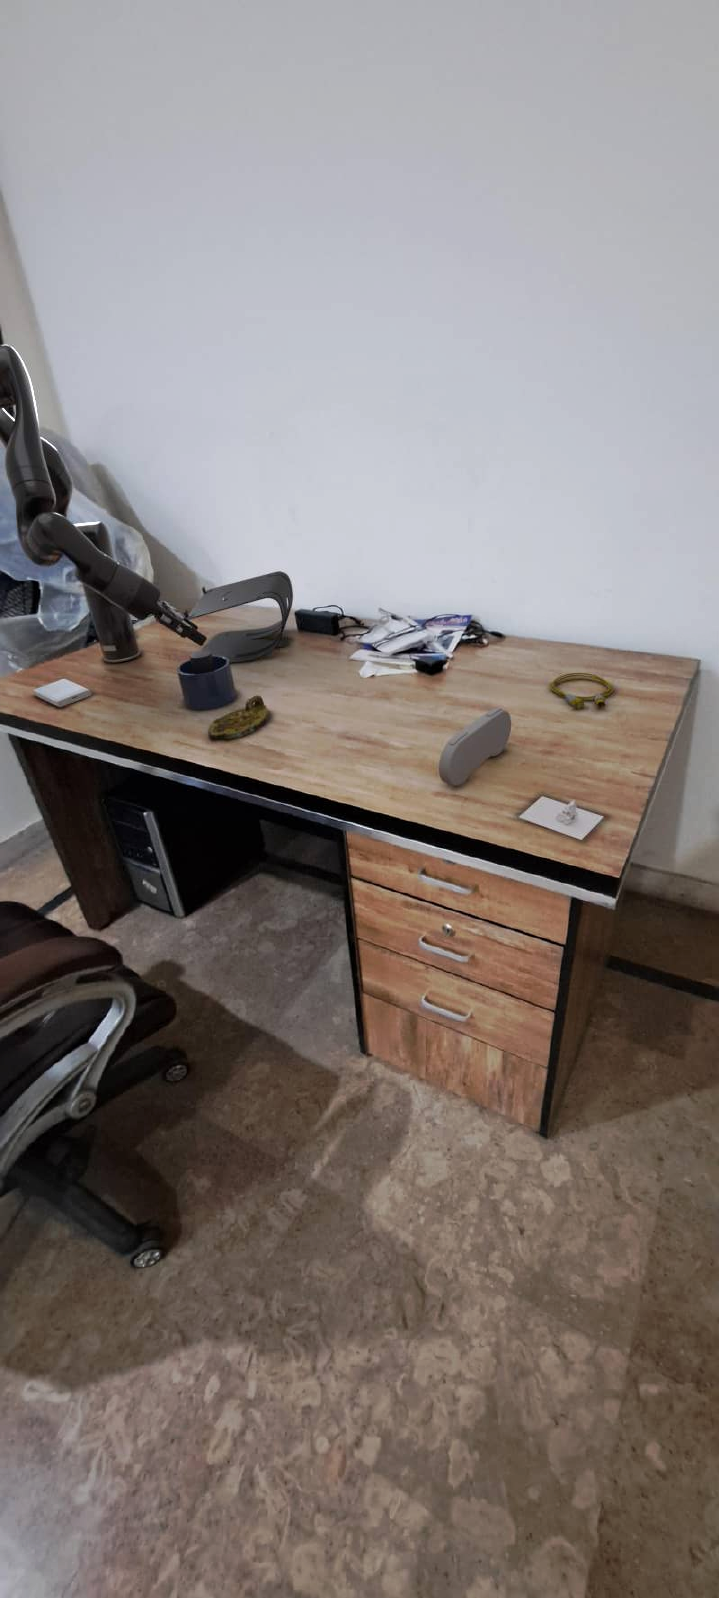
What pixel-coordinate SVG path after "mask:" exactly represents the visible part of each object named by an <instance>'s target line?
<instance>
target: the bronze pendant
mask: <svg viewBox="0 0 719 1598" xmlns="http://www.w3.org/2000/svg"><path fill="white" fill-rule="evenodd" d="M268 720H269V711H268V707H267V705H266V704H265V702H264V700H263V698H262V696H261V695H259V694H258V695H254V696H252V697H250V698H248V699H247V700H246V702H245V707H244V708H240V709H236V710H234V711H231V712H229V713H227V714H225V715H223V716H221V717H219V718H216V719H214V720H213V721H212V724H211V725H210V727H209V729H208V732H207V733H208V738H209V739H210V740H214V739H223V740H233V739H238V738H241V737H245V736H247V735H250V734H252V733H253V732H255V731H256V730H257V729H259V728H260V727H262V726H263V725H264V724H265V723H266V722H267V721H268Z"/></svg>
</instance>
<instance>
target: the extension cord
mask: <svg viewBox="0 0 719 1598" xmlns="http://www.w3.org/2000/svg"><path fill="white" fill-rule="evenodd" d="M575 680H585V681H586V680H587V681H592V682H596V683H599V684H602V685H604V686H606V688H607V690H605V691H603V692H600V693H595V694H594V695H591V696H580V695H579V696H578V695H573V694H571V693H567V694H566V693H565V692H564V691H562V690H560V689H559V688H557V687H556V685H558V684H561V683H564V682H568V681H575ZM550 690H551V691H552V692H553V693H555V695H557V696H559V697H561V698H565V700H566V701H567V702H568V703H569V705H570V706H572V707H574V708H576V709H577V710H581V709H582V708H584V706H585V702H589V701H594V704H595V706H596V707H597V709H599V710H601V709H605V707H606V700H605V697H608V696H610V695H611V694H612V693H613V689H612V687H611V684H610V683H609V682H608V681H607V680H606V679H604V678H603V677H601V676H598V675H596V674H592V673H587V672H571V673H566V674H562V675H560V676H557V677H556V678H555V679H554V680H553V681H552V682H551V685H550Z"/></svg>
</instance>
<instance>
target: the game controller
mask: <svg viewBox="0 0 719 1598" xmlns="http://www.w3.org/2000/svg"><path fill="white" fill-rule="evenodd" d="M511 730H512V719H511V715H510V713H509V711H507V710H504V709H503V708H502V707H493V708H492V709H490V710H488V711H487V712H486V713H484V714H483V715H481V716H480V717H478V718H477V719H475V720H474V721H473V722H471V723H470V724H468V725H467V726H466V727H464V728H463V729H462V730H460V731H459V732H457V733H456V734H455V735H454V736H452V737H451V738H450V739H449V740H448V741H447V742H446V744H445V745H444V747H443V749H442V751H441V754H440V758H439V762H438V775H439V777H440V780H441V781H442V782H443V783H445V784H448V785H451V786H454V787H459V786H460V785H462V784H463V783H464V782H466V780H467V779H468V778H469V777H470V775H471V773H472V772H473V771H474V770H475V769H476V768H477V767H479V766H481V764H482V763H484V762H485V761H486V760H487V759H488V758H490V757H497V756H498V755H500V754H501V753H502V752H503V751H504V749H505V747H506V745H507V743H508V741H509V738H510V735H511Z"/></svg>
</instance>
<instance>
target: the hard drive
mask: <svg viewBox="0 0 719 1598" xmlns="http://www.w3.org/2000/svg"><path fill="white" fill-rule="evenodd" d="M32 692H33V695H34V696H36V697H38V698H39V699H41V700H43V701H45V702H48V703H50V704H51V705H54V706H55V707H58V708H62V707H65V706H67V705H70V704H72V703H76V702H78V701H81V700H84V699H86V698H89V697H91V696H92V691H91V689H88V688H87V687H84V686H82V685H80V684H78V683H75V682H73V681H71V680H69V679H66V678H61V679H58V680H55V681H54V682H51V683H48V684H45V685H42V686H40V687H37V688H35V689H33V690H32Z"/></svg>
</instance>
